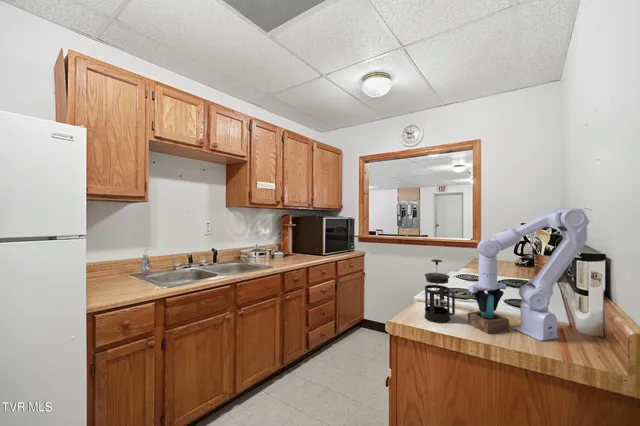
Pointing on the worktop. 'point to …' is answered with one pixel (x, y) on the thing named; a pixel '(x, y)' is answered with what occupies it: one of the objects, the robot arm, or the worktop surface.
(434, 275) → the french press
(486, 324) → the socket block
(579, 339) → the worktop surface
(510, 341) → the worktop surface
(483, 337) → the worktop surface
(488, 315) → the peg
